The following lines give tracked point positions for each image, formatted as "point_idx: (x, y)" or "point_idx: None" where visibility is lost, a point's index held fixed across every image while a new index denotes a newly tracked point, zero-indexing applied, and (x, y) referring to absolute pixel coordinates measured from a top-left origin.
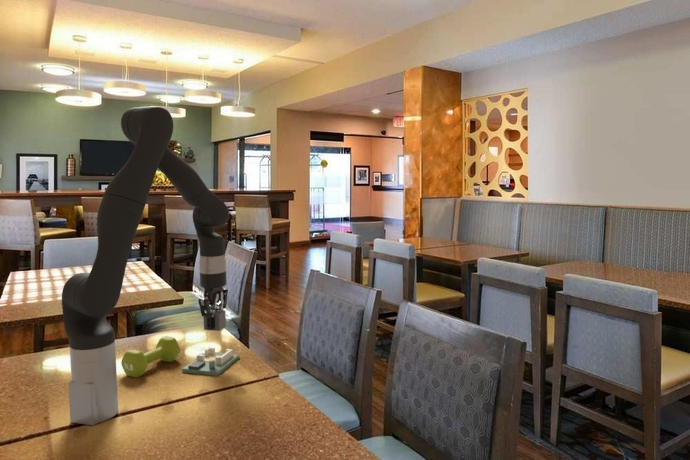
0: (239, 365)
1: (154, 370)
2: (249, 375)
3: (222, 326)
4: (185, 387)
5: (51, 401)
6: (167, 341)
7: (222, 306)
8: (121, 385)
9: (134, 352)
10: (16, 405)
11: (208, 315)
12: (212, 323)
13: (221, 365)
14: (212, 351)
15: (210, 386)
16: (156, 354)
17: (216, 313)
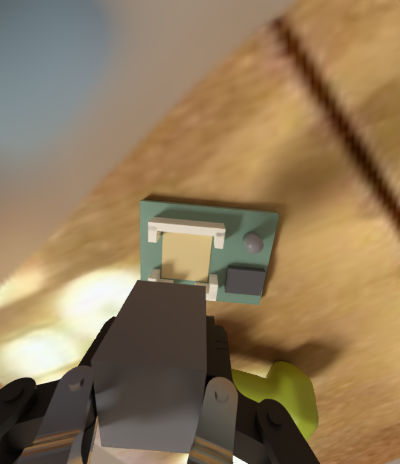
0: (198, 178)
1: (252, 350)
2: (268, 117)
3: (171, 290)
4: (345, 258)
5: (383, 426)
6: None
7: (51, 416)
8: (326, 371)
9: (312, 431)
10: (391, 452)
11: (290, 423)
12: (214, 344)
13: (229, 221)
14: (157, 277)
15: (343, 203)
16: (242, 382)
17: (187, 390)
